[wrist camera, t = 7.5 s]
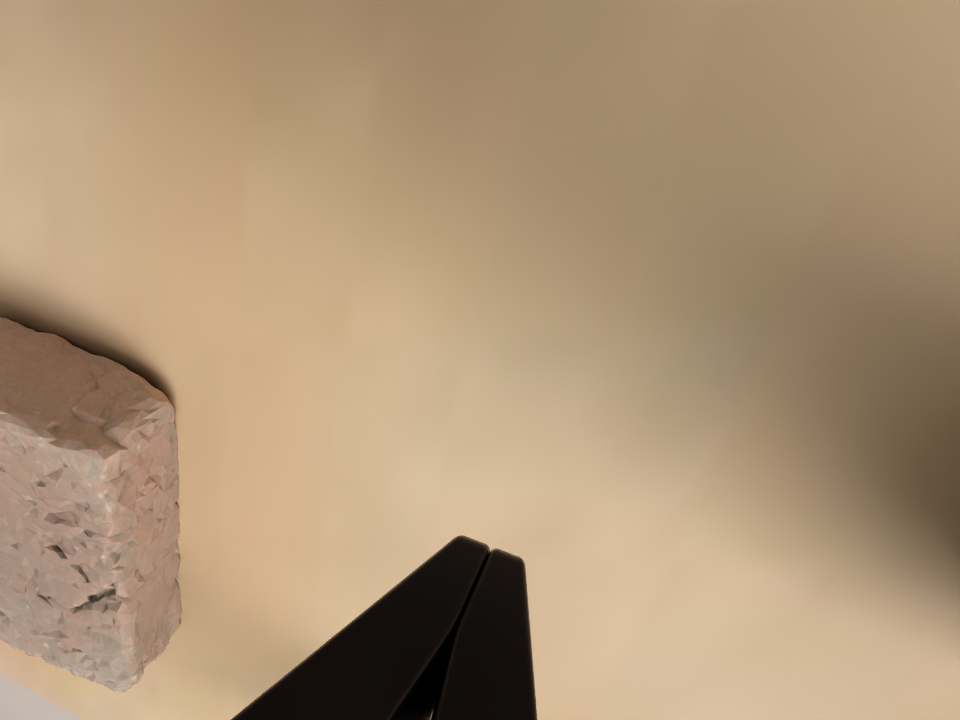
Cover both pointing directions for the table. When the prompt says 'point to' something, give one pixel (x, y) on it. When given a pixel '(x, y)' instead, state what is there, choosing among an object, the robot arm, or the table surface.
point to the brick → (85, 510)
